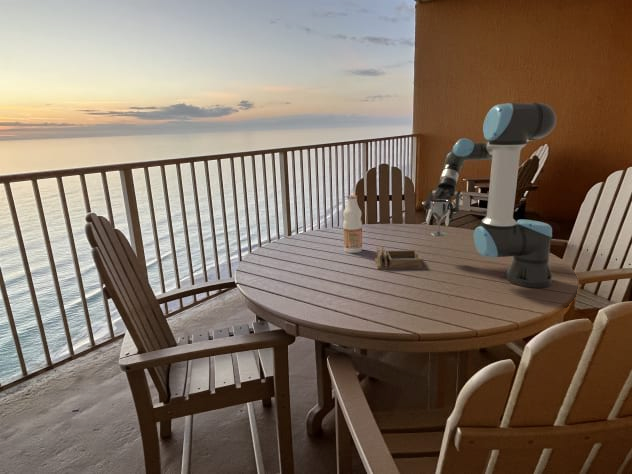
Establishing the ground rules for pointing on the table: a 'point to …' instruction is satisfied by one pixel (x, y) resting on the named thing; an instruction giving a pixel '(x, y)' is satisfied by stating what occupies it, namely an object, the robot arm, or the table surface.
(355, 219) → the fruit juice
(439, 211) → the silver goblet
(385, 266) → the wooden tray
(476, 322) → the table surface
